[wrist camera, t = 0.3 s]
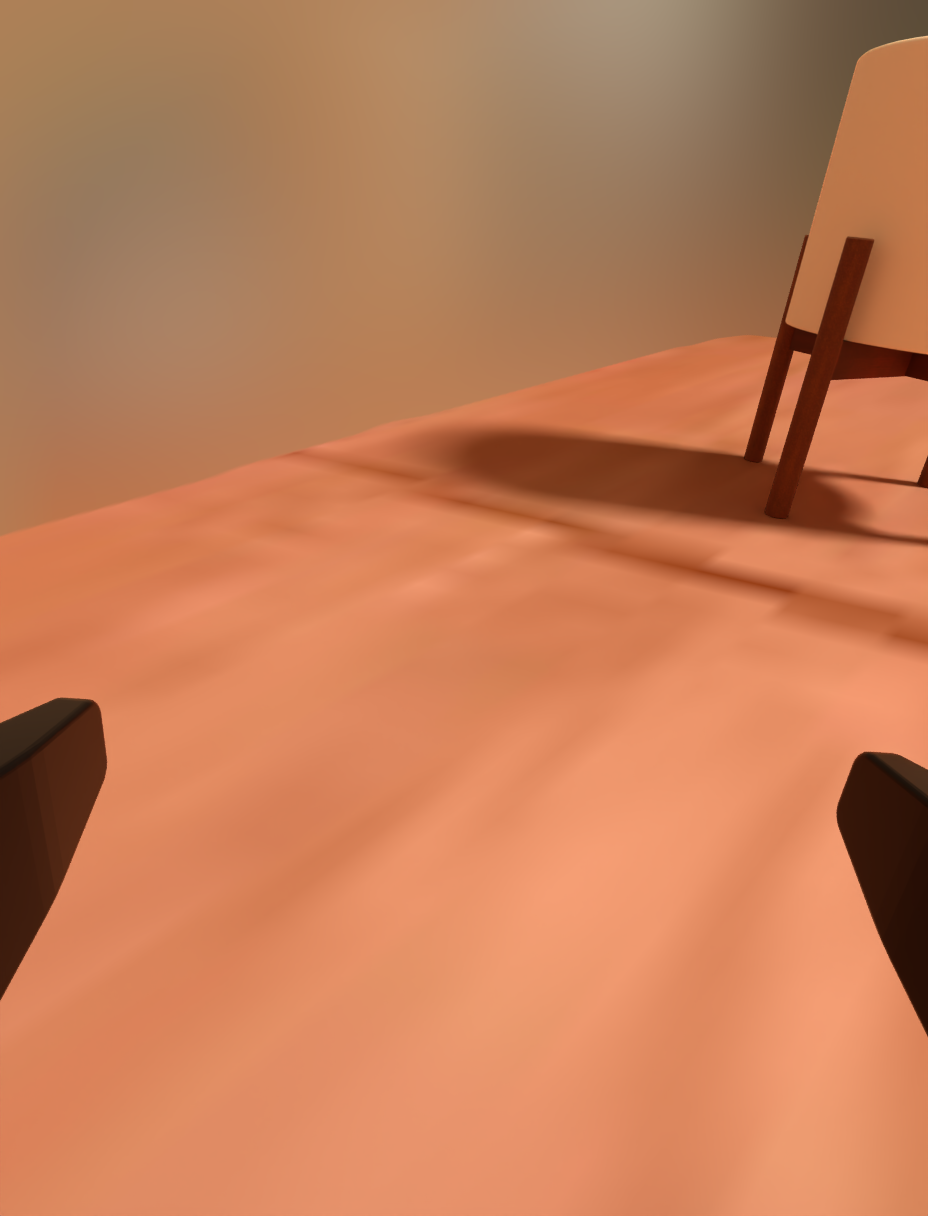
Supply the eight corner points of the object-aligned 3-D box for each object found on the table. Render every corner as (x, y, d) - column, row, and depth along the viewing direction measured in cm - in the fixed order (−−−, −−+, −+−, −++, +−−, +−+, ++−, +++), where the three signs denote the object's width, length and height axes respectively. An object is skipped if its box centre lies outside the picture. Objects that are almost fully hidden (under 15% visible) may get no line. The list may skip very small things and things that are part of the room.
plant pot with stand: (1028, 561, 64) (1282, 42, 47) (755, 518, 67) (902, 18, 51) (940, 482, 83) (1097, 95, 67) (732, 452, 87) (832, 75, 70)
